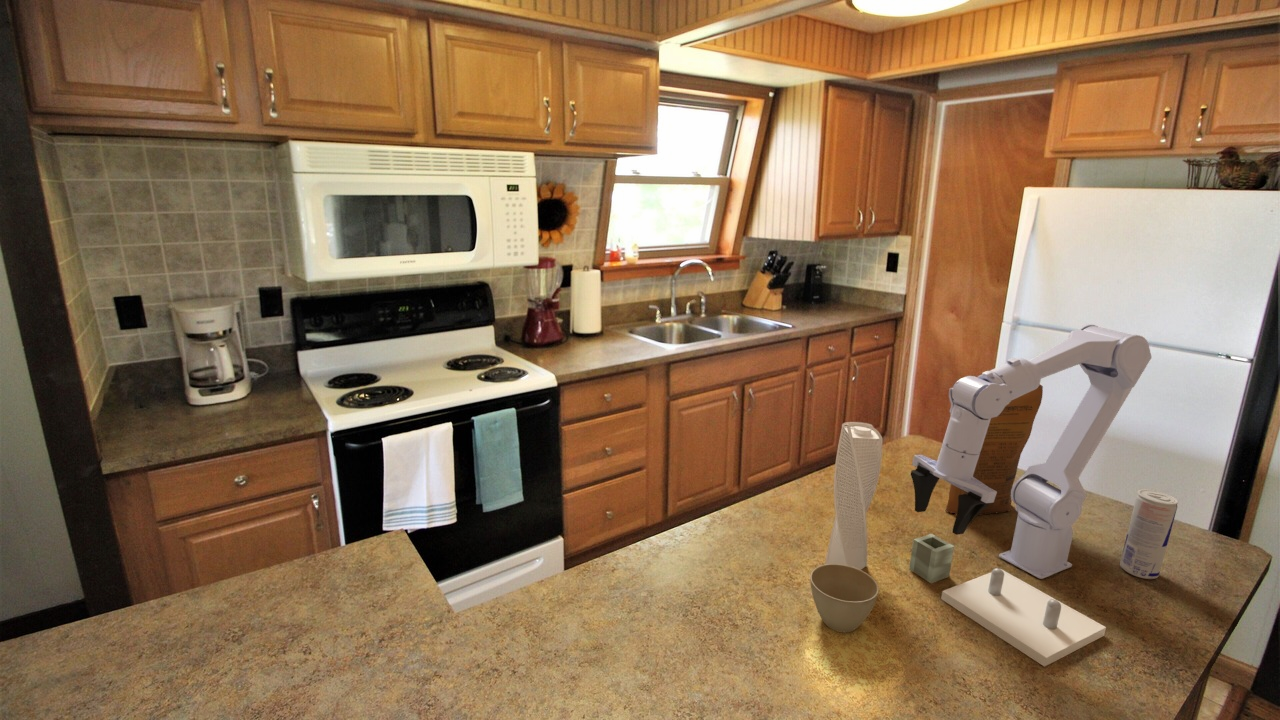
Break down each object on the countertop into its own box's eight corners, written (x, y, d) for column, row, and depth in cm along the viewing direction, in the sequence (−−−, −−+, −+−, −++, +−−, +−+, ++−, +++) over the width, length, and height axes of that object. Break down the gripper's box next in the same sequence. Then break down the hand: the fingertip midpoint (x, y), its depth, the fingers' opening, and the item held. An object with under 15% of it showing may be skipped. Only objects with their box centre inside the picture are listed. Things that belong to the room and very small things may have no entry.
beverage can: (1165, 583, 110) (1186, 505, 106) (1129, 578, 111) (1148, 501, 107) (1147, 565, 115) (1166, 490, 111) (1113, 561, 116) (1131, 486, 112)
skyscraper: (851, 584, 108) (871, 430, 100) (814, 564, 113) (830, 417, 106) (875, 567, 113) (895, 419, 105) (838, 549, 118) (855, 408, 111)
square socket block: (926, 563, 114) (931, 533, 113) (949, 576, 110) (954, 546, 109) (909, 569, 112) (913, 539, 111) (931, 583, 108) (936, 552, 107)
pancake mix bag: (1032, 514, 133) (1057, 387, 126) (954, 523, 129) (976, 392, 121) (1007, 499, 139) (1030, 378, 132) (932, 507, 135) (952, 382, 128)
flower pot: (873, 609, 101) (878, 570, 99) (873, 650, 92) (879, 608, 90) (809, 596, 104) (813, 557, 102) (803, 634, 95) (807, 593, 93)
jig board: (998, 576, 111) (1004, 546, 109) (1103, 635, 96) (1112, 602, 95) (941, 599, 104) (946, 567, 103) (1044, 666, 89) (1052, 631, 88)
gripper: (909, 432, 109) (889, 503, 112) (986, 467, 97) (961, 546, 100) (935, 431, 112) (915, 500, 116) (1013, 465, 100) (988, 542, 103)
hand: (938, 521), depth 108 cm, fingers open, 7 cm apart
